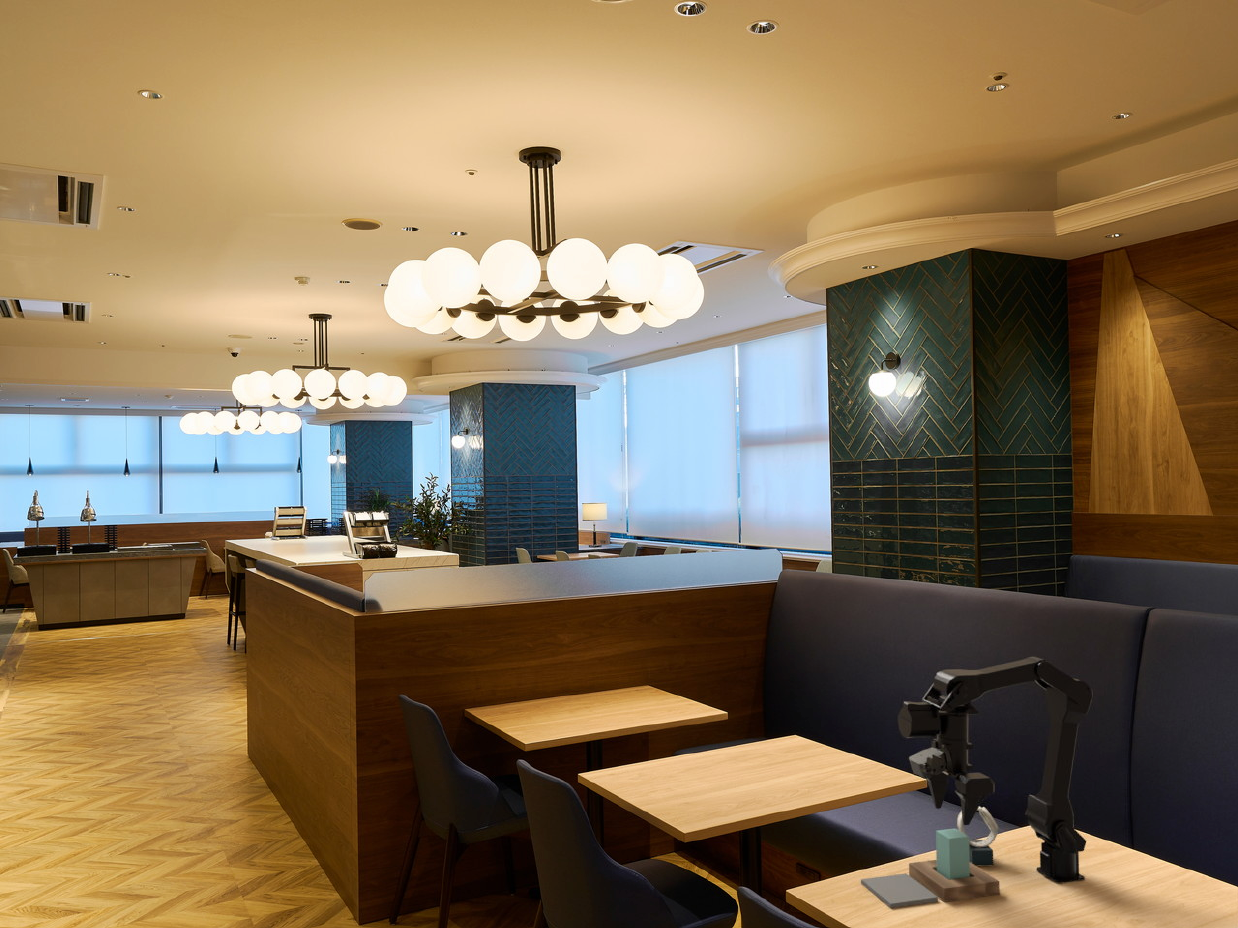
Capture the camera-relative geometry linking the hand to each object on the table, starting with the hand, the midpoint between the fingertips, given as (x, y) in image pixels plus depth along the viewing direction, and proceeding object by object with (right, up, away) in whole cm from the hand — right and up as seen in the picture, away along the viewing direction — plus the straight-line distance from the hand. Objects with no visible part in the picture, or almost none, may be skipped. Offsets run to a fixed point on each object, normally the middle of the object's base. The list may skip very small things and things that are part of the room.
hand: (951, 816), depth 180 cm
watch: (+10, -14, +11) cm, 20 cm away
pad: (-11, -13, -3) cm, 18 cm away
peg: (0, -13, 0) cm, 13 cm away
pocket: (0, -13, 0) cm, 13 cm away
